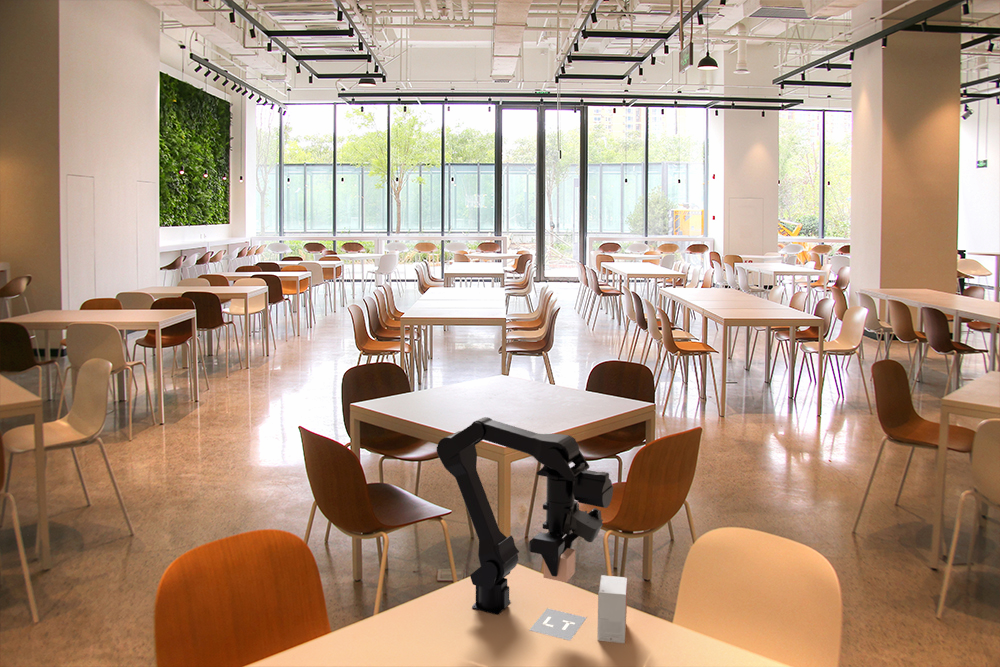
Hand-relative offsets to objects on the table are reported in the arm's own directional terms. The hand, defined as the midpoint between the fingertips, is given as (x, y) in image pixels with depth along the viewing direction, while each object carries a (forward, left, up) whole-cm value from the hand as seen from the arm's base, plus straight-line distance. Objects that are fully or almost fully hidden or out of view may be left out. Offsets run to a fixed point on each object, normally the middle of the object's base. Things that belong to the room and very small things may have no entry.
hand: (559, 570), depth 159 cm
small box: (+11, +2, -12) cm, 17 cm away
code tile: (0, 0, -12) cm, 12 cm away
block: (0, 0, -1) cm, 1 cm away
